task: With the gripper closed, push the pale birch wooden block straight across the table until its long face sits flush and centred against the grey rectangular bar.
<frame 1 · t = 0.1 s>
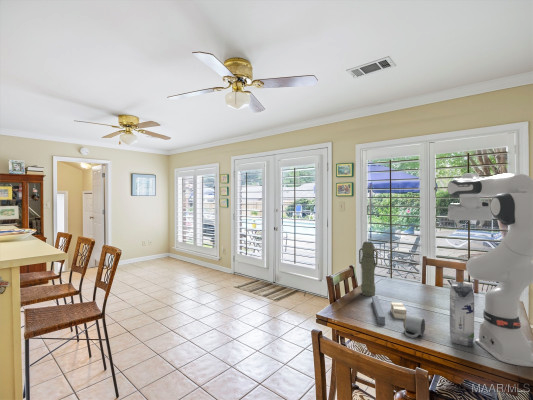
hand: (469, 228, 150), 48 cm above the table, tool pointing down, fingers open, 8 cm apart
ceramic mug: (413, 334, 132), on the table
juice carton: (461, 341, 125), on the table
birch block: (398, 314, 153), on the table
grey rectangular bar: (378, 312, 155), on the table
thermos: (368, 294, 184), on the table
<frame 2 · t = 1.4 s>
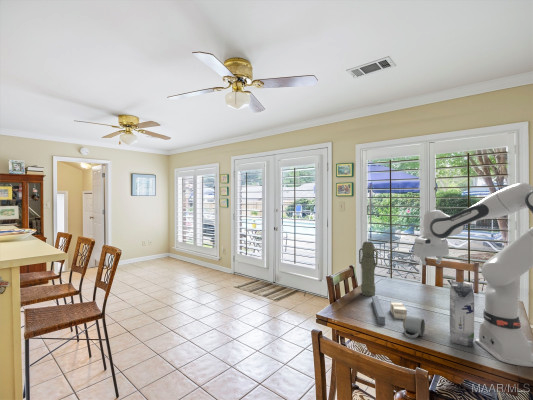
hand: (431, 264, 151), 28 cm above the table, tool pointing down, fingers open, 8 cm apart
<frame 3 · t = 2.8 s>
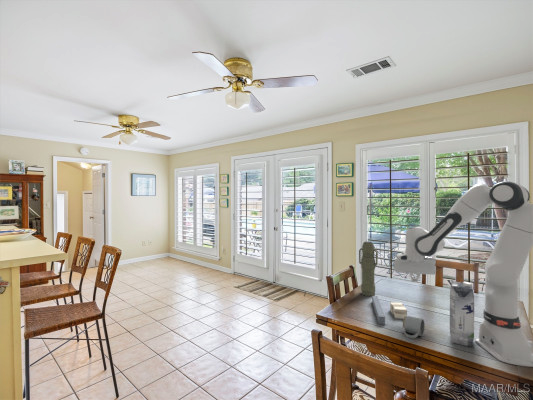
hand: (414, 281, 150), 19 cm above the table, tool pointing down, fingers closed
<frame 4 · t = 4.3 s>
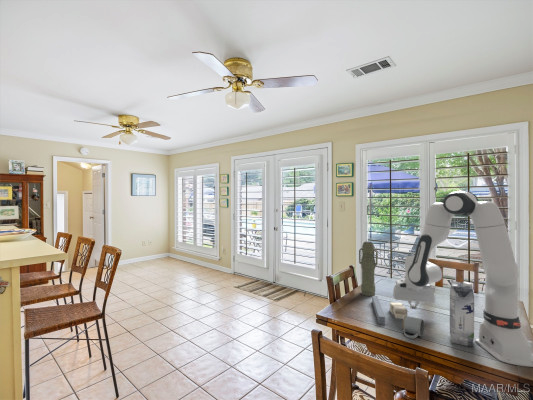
hand: (413, 308, 151), 4 cm above the table, tool pointing down, fingers closed
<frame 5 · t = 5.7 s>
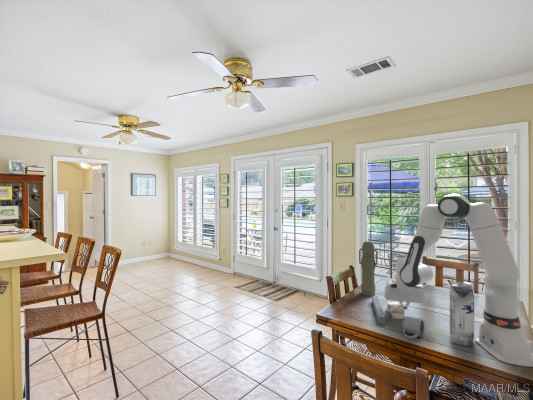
hand: (404, 309, 152), 3 cm above the table, tool pointing down, fingers closed
birch block: (395, 314, 153), on the table, touching gripper
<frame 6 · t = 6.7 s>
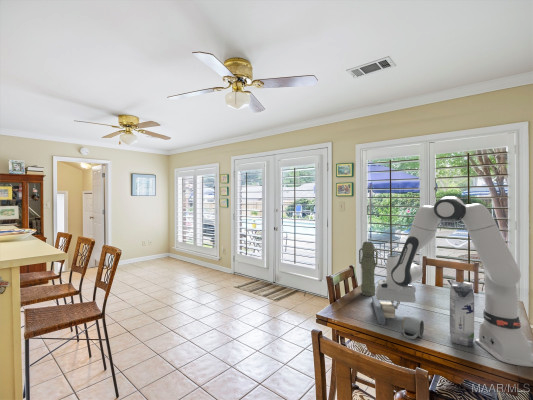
hand: (395, 308, 153), 3 cm above the table, tool pointing down, fingers closed
birch block: (387, 313, 153), on the table, touching gripper, grey rectangular bar
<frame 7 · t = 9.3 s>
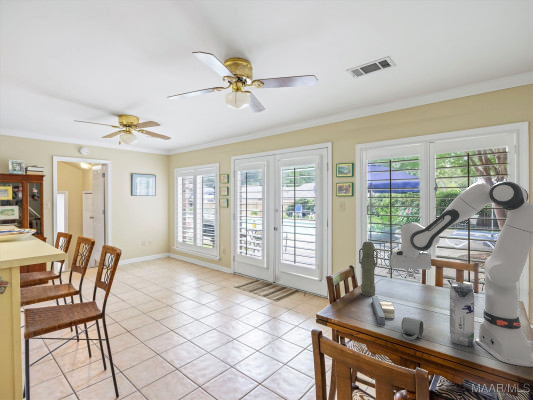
hand: (410, 276, 151), 21 cm above the table, tool pointing down, fingers closed
birch block: (386, 314, 153), on the table
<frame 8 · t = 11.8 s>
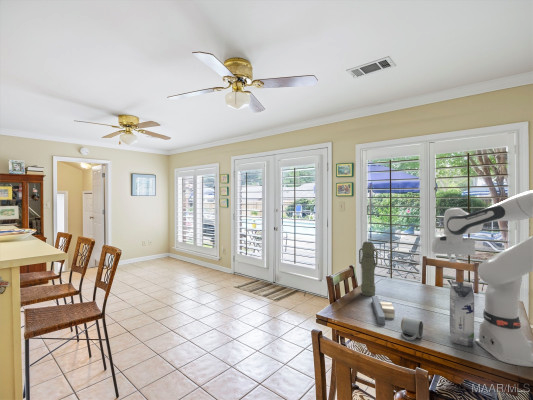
hand: (452, 262, 151), 29 cm above the table, tool pointing down, fingers closed
at the end: birch block 1.1 cm from the target spot on the table beside the grey rectangular bar, on the table; birch block tilted 0°; birch block moved 6.0 cm from its start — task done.
